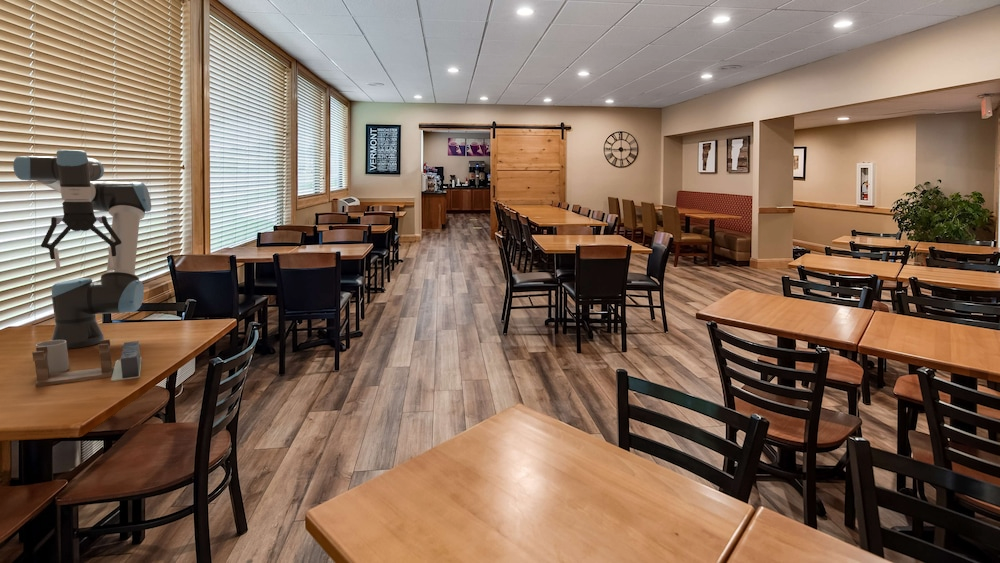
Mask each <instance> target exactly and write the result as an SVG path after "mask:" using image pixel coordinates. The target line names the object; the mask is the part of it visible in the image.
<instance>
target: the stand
mask: <svg viewBox="0 0 1000 563" xmlns="http://www.w3.org/2000/svg"><path fill="white" fill-rule="evenodd" d="M35 349H36V351H32V353H31V355H32V361H33V362H34V365H35V367H34V368H35V374H36V382H35V383H34V385H35V388H37V387H45V386H52V385H59V384H67V383H73V382H81V381H83V382H84V381H90V380H98V379H103V378H104V379H105V378H112V374H113V370H114V365H113V362H112V354H111V340H110V338H109V339H108V338H107V339H104V340H100V343H99V344H97V350H98V354H99V361H100V367H96V368H95V367H94V368H87V369H79V370H71V371H65V372H61V373H55V374H49V366H48V358H47V355H48V349H47V346H42V347H36V346H35Z"/></svg>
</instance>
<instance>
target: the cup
mask: <svg viewBox="0 0 1000 563" xmlns="http://www.w3.org/2000/svg"><path fill="white" fill-rule="evenodd" d="M42 346H47V349H48V355H47V358H48V366H49V374H55V373H63V372H68V370H69V369H70V361H69V360H70V359H69V352H68V349H67V343H66V340H51V339H50V340H45V341H41V342H38V343H36V344H35V348H36V347H42Z"/></svg>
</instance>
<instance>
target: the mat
mask: <svg viewBox="0 0 1000 563" xmlns="http://www.w3.org/2000/svg"><path fill="white" fill-rule="evenodd" d="M142 361H143V357H142V356H140V369H139V376H137V377H129V378H122V368H121V359H117V360H115V364H114V365H113V373H112V377H110V378H111V379H110V382H117V381H122V380H123V381H124V380H132V379H139V378H141V369H142V368H141V367H142Z"/></svg>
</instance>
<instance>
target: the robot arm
mask: <svg viewBox="0 0 1000 563" xmlns="http://www.w3.org/2000/svg"><path fill="white" fill-rule="evenodd" d="M55 154H56V156H44V155H43V156H39V155H38V156H37V155H22V156H16V157H15V158H14V161H13V162H12V163H13V164H12V165H13V168H12V169H13V171H14V175H15V177H16V178H18V179H19V180H21V181H29V182H30V181H35V182H36V181H37V182H39V183H41V184H43V185H45V186H47V187H48V188H50V189H52V190H54V191H55V192H59V193H60V196H61V200H62V209H63V210H62V211H63V217H57V216H52V217H51V220H50V226H49V228H48V230H47V232H46V235H45V236H44V237H43V240H42V242H41V244H40V247H41V248H44V249H48V251H49V258H50V259H51V261H52V260H54V261H55V268H56V269H55V270H56V271H60V270H61V263H60V261H61V260H60V254H59V248H58V247H57V248H55V247H56V246H57V245H59V243H60V242H61V241H62V240H63V239H64V238H65V236H67V235H68V233H69V232H71V230H72V231H74V232H79V231H82V232H85V231H86V232H87V231H89V230H90V231H91V232H93V233H94V234H96V235H97V236H98V237H100V239H102V240H103V241H104V242H105V243H107V244H108V246H107V251H108V252H107V253H108V257H107V264H106V265H107V267H106V272H105V273H102V274H101V275H100V281H93V279H92V278H91V277H82V278H75V279H68V280H64V281H60V282H57V283H54V284H53V285H52V286H51V301H52V308H53V315H54V323H55V325H54V329H53V333H52V336H51V339H50V341H51V340H66V343H67V350H68V349H69V350H70V349H78V348H85V347H90V346H94V345H99V344H100V340H105V335H104V333H103V331H102V329H101V326H100V325H99V323H98V322H97V318H96V315H103V314H105V315H107V314H108V315H109V314H126V313H134V312H137V311H138V310H139V309H140V308H141V306H142V305H143V302H144V296H145V291H144V290H145V287H144V283H143V282H142V281H141V280H140V278H139V276H138V275H136V274H135V272H136V264H137V263H136V262H137V251H138V250H137V249H138V240H139V239H138V238H139V230H140V221H141V220H142V219H144V218H145V214H146V213H148V212H150V211H151V210H152V201H151V197H150V192H149V190H148V187H147V185H146V184H145V183H144V182H140V181H133V180H130V181H110V180H109V181H106V180H102V181H101V180H100V179H101V178H102V177H104V173H105V167H104V165H103V164H102V162H100V161H99V160H98V159H96V158H93V157H88V155H87V152H86V151H85V150H78V149H59V150H57V151H56V153H55ZM98 180H99V181H98ZM94 211H96V212H97V211H98V212H108V214H109V215H110V216H111V217H112V221H111V222H112V223H111V225H110V223H108V222H109V221H108V218H107V216H106V215H101V216H96V215H95V212H94ZM97 221H98V222H99V223H100V224H103V226H104V228H105V229H106V230H107V232H108V233H109V235H110V238H109V236H107V235H106V234H105V233H104V232H103V231H101V230H100V229H99V228H98V227H97V226H95V223H96V222H97ZM61 222H63V223H64V224H65V225H66V227H65V228H64V229H63V230H62V232H61V233H60V234H59V235H58V236H57V237H56V238H55V239H54V241H52V243H50V240H51V238H52V235H53V233H55V229H56V228H57V226H58V225H59V224H61Z"/></svg>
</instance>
